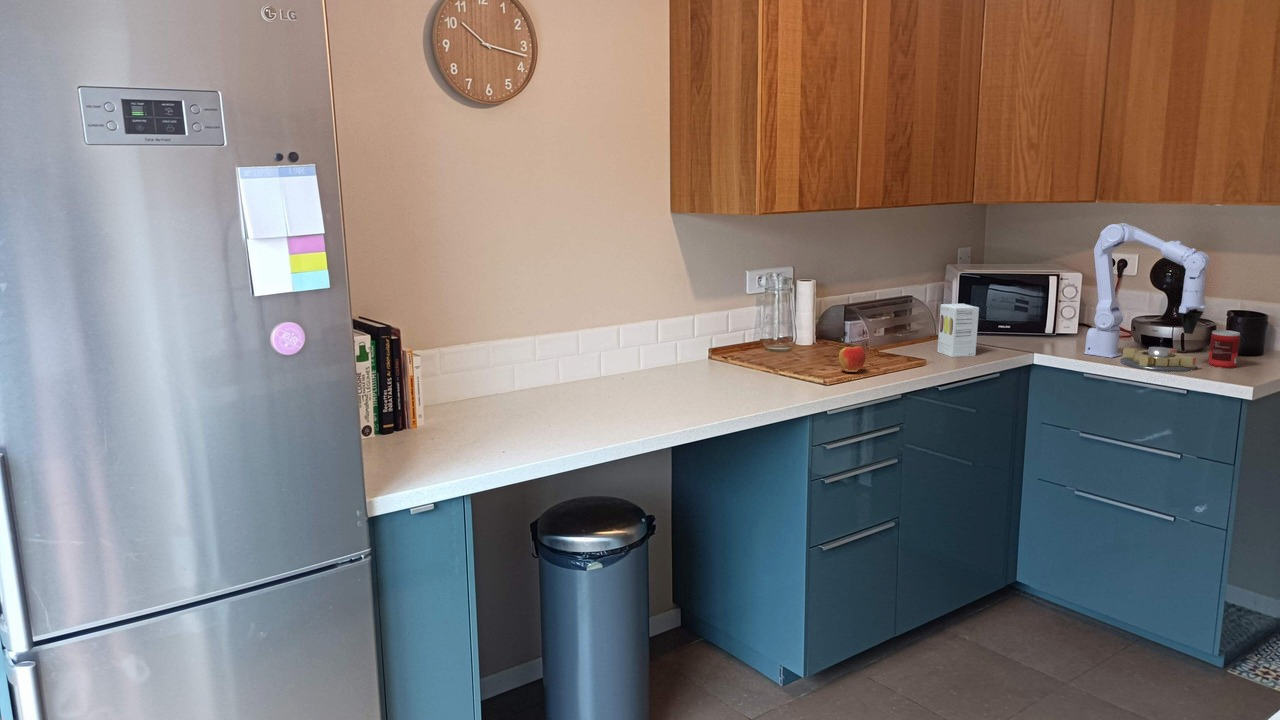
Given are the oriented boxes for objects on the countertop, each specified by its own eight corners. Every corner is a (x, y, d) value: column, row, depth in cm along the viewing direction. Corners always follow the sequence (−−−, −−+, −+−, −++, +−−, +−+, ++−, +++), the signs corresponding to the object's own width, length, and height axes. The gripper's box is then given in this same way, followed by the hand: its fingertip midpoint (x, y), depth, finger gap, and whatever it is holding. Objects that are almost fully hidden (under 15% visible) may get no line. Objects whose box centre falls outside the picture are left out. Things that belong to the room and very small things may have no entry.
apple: (845, 376, 279) (846, 344, 277) (833, 370, 286) (835, 339, 284) (869, 374, 280) (870, 342, 278) (857, 369, 288) (858, 338, 286)
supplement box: (936, 352, 315) (939, 304, 311) (959, 350, 317) (963, 302, 314) (952, 357, 306) (955, 307, 302) (976, 356, 308) (979, 306, 305)
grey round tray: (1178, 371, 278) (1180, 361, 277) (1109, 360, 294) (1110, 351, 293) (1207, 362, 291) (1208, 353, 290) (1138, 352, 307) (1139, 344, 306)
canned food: (1227, 363, 294) (1232, 330, 292) (1241, 368, 286) (1245, 334, 284) (1202, 363, 295) (1206, 329, 292) (1215, 368, 287) (1219, 334, 285)
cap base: (1109, 364, 294) (1111, 348, 293) (1139, 355, 308) (1141, 339, 307) (1180, 374, 278) (1182, 357, 277) (1208, 364, 292) (1210, 348, 291)
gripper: (1198, 294, 279) (1193, 337, 282) (1216, 290, 288) (1211, 332, 291) (1173, 291, 284) (1168, 334, 287) (1191, 288, 293) (1186, 329, 296)
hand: (1188, 333), depth 289 cm, fingers closed
